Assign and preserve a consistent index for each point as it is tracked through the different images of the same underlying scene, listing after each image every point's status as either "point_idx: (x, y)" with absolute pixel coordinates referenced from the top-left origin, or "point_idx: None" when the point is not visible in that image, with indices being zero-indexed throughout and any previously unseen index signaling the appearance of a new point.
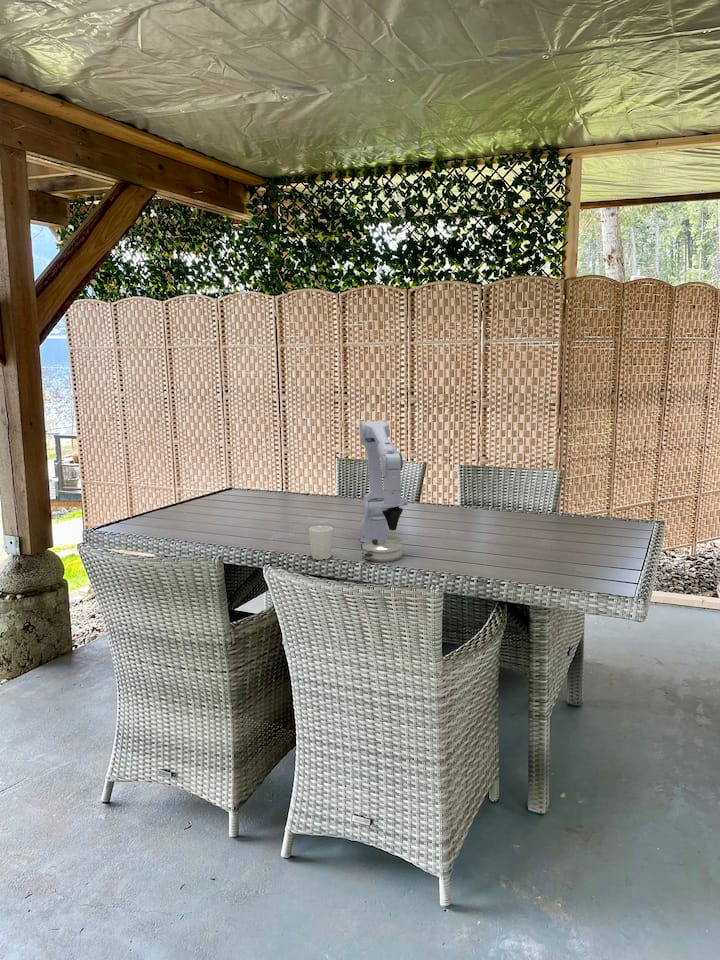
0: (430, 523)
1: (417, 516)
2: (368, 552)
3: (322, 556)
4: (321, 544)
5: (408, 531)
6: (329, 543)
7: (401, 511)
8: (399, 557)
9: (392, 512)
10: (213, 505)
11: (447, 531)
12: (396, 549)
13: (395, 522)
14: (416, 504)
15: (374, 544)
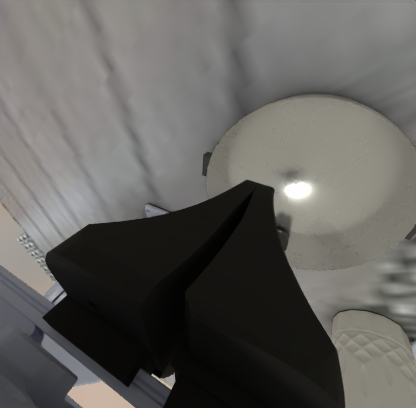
0: (33, 177)
1: (38, 209)
2: None
3: (407, 341)
4: None
5: (84, 196)
6: (397, 371)
7: (111, 236)
8: (315, 94)
9: (340, 397)
10: (173, 380)
11: (22, 120)
12: (352, 102)
13: (250, 210)
14: (22, 225)
15: (298, 233)
